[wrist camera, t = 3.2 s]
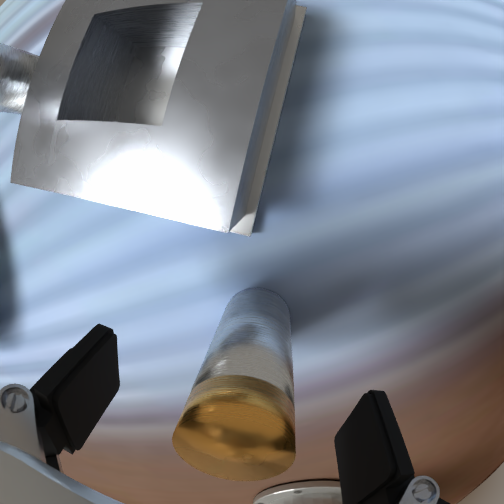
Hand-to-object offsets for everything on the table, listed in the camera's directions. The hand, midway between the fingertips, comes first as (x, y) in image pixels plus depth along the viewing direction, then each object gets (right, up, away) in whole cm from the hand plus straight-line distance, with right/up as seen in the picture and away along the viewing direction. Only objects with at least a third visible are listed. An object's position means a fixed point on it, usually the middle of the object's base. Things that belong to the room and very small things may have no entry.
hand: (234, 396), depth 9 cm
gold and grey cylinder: (+1, +1, +8) cm, 8 cm away
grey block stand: (-7, +15, +5) cm, 17 cm away
